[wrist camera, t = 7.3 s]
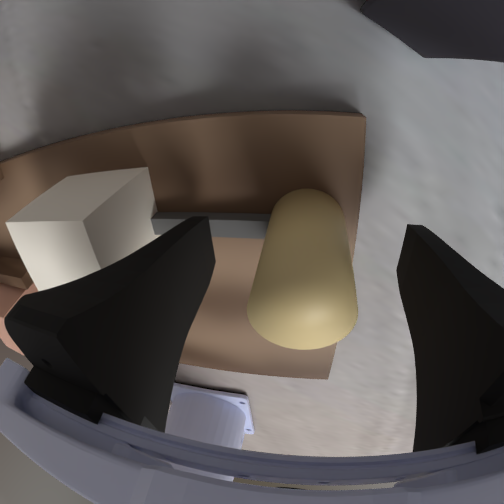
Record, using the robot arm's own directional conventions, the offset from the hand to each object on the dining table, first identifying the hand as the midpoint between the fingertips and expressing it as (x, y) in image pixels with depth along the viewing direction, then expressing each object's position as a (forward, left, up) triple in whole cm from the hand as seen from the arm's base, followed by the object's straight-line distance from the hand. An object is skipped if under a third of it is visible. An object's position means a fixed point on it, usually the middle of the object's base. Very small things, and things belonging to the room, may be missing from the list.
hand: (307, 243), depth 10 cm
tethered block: (0, +5, -2) cm, 5 cm away
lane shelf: (-4, +12, -3) cm, 13 cm away
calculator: (+12, -6, -3) cm, 14 cm away
